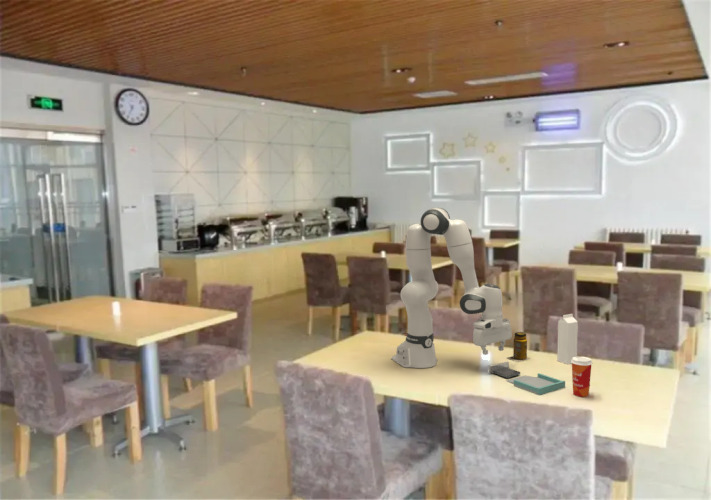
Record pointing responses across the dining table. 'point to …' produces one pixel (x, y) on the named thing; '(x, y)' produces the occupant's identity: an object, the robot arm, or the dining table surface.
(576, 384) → the paper cup
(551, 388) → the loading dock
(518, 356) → the condiment
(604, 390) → the dining table surface
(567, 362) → the milk
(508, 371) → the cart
